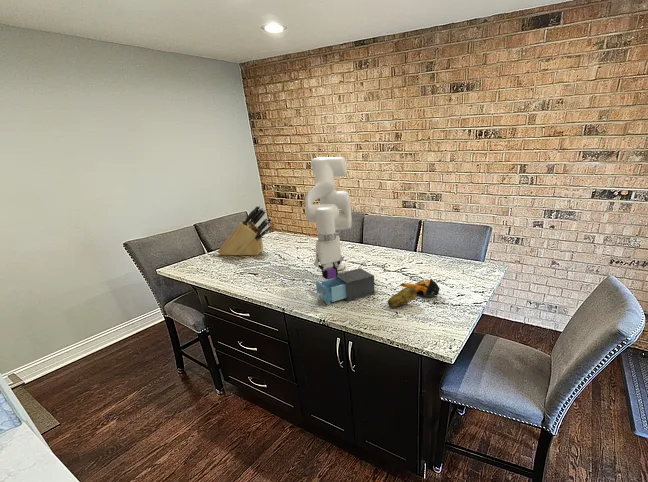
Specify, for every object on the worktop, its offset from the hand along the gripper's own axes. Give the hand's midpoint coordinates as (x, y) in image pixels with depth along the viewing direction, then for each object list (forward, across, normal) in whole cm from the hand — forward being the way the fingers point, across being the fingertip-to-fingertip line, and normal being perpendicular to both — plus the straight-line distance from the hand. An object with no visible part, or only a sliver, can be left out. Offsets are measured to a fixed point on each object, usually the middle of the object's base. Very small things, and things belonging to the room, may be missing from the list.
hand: (330, 276), depth 150 cm
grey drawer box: (+11, -12, 0) cm, 16 cm away
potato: (+11, -22, +24) cm, 35 cm away
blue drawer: (+10, 0, 0) cm, 10 cm away
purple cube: (0, 0, 0) cm, 0 cm away
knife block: (+11, +12, -97) cm, 99 cm away
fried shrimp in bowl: (+11, -36, +20) cm, 43 cm away
